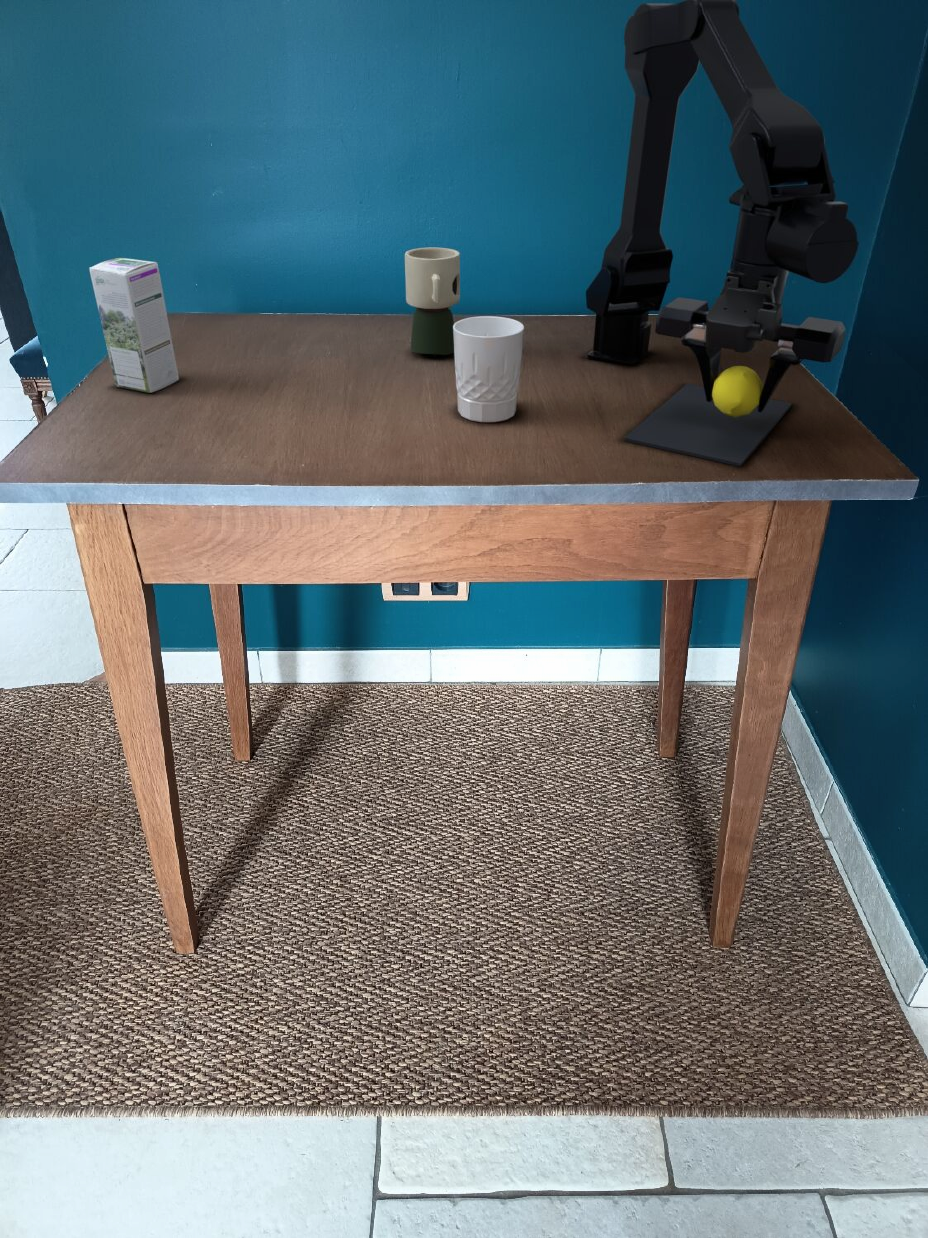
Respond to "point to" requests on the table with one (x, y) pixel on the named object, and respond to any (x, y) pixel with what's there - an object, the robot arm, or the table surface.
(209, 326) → the table surface
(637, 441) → the desk mat
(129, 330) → the syrup box
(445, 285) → the character mug
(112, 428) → the table surface
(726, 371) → the lemon
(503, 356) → the white cup
